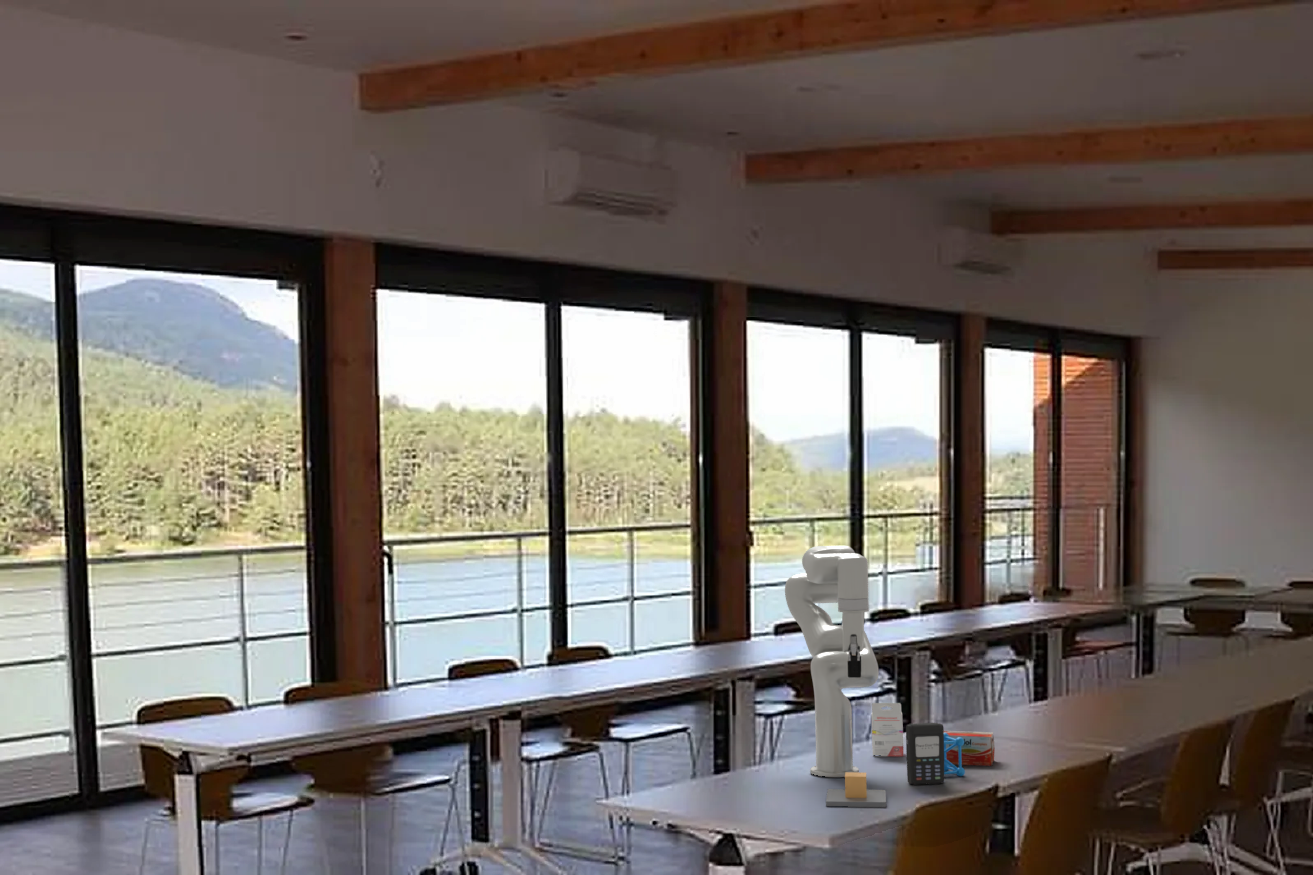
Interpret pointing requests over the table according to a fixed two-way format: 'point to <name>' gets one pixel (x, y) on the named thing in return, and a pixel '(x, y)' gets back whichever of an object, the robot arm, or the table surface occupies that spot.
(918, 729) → the card reader
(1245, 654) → the table surface
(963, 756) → the medicine box
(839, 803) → the plate
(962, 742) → the molecular structure
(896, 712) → the ink cartridge box
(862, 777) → the tan wooden cube
